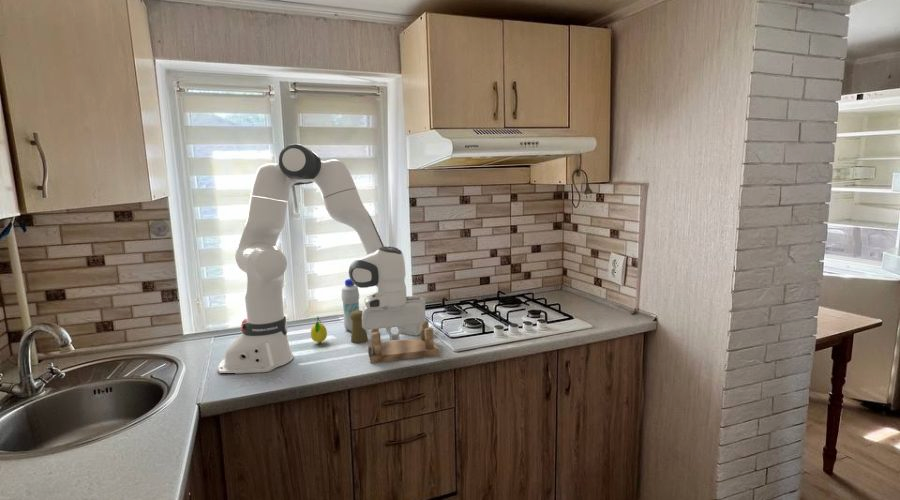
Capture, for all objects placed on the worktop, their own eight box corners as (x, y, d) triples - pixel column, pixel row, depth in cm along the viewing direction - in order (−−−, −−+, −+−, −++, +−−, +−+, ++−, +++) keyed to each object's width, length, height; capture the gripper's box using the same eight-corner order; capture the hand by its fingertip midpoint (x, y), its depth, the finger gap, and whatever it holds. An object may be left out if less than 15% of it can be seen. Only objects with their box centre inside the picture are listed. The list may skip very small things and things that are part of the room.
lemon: (320, 338, 173) (318, 312, 172) (332, 341, 170) (330, 314, 169) (306, 344, 168) (304, 317, 166) (318, 347, 165) (316, 320, 163)
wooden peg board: (369, 363, 149) (367, 337, 148) (367, 349, 161) (365, 325, 160) (438, 354, 154) (437, 329, 153) (431, 342, 166) (430, 319, 164)
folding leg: (371, 346, 157) (370, 328, 156) (380, 345, 158) (379, 327, 157) (372, 355, 150) (371, 335, 149) (381, 354, 150) (380, 334, 149)
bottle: (363, 326, 185) (360, 277, 182) (358, 332, 179) (355, 281, 175) (347, 326, 186) (343, 277, 183) (341, 332, 179) (337, 281, 176)
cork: (364, 343, 167) (362, 313, 165) (348, 343, 168) (346, 313, 166) (370, 338, 172) (368, 308, 171) (354, 337, 174) (352, 308, 172)
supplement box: (399, 333, 176) (397, 300, 174) (410, 327, 182) (408, 295, 180) (416, 336, 172) (414, 302, 170) (426, 330, 179) (425, 297, 177)
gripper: (423, 292, 155) (425, 333, 157) (360, 298, 151) (362, 339, 153) (426, 297, 149) (428, 339, 151) (360, 303, 145) (363, 346, 147)
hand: (394, 339), depth 152 cm, fingers closed
